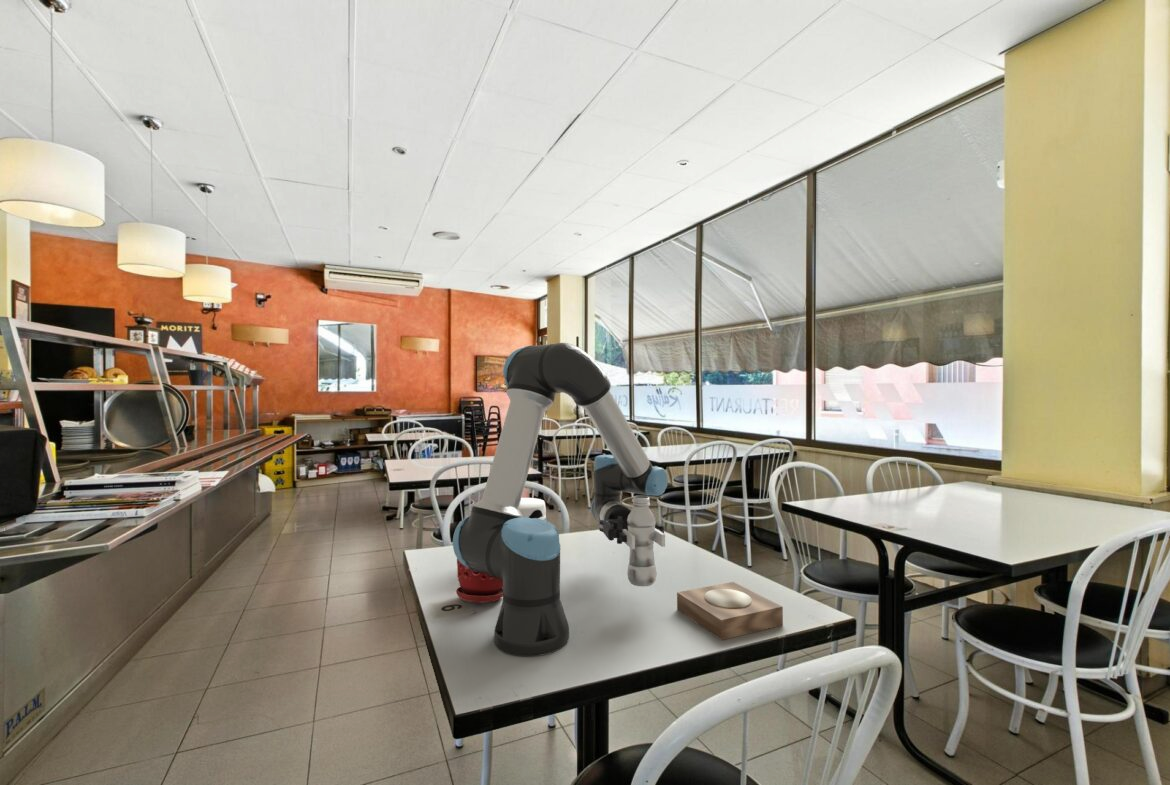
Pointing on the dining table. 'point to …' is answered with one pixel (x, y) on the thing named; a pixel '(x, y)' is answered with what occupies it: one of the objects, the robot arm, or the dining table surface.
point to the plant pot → (477, 585)
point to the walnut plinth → (729, 610)
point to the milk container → (533, 508)
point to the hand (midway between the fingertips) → (648, 541)
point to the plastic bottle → (641, 543)
